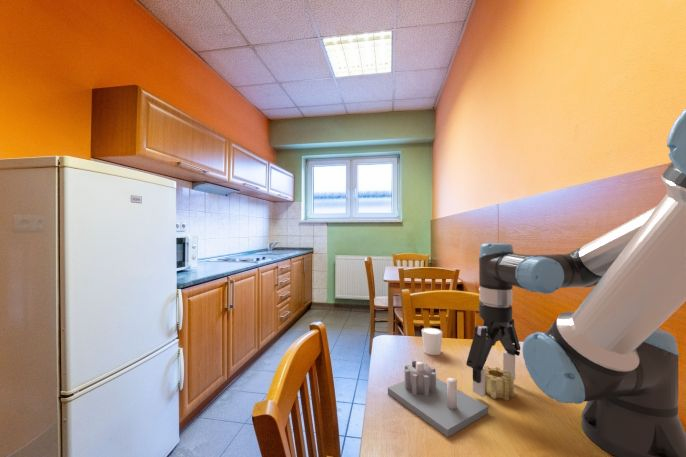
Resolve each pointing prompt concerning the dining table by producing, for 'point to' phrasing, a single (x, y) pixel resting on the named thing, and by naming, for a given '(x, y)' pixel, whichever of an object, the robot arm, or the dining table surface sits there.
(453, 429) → the gear board
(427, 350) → the beige cup
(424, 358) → the dining table surface
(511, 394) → the brass gear
